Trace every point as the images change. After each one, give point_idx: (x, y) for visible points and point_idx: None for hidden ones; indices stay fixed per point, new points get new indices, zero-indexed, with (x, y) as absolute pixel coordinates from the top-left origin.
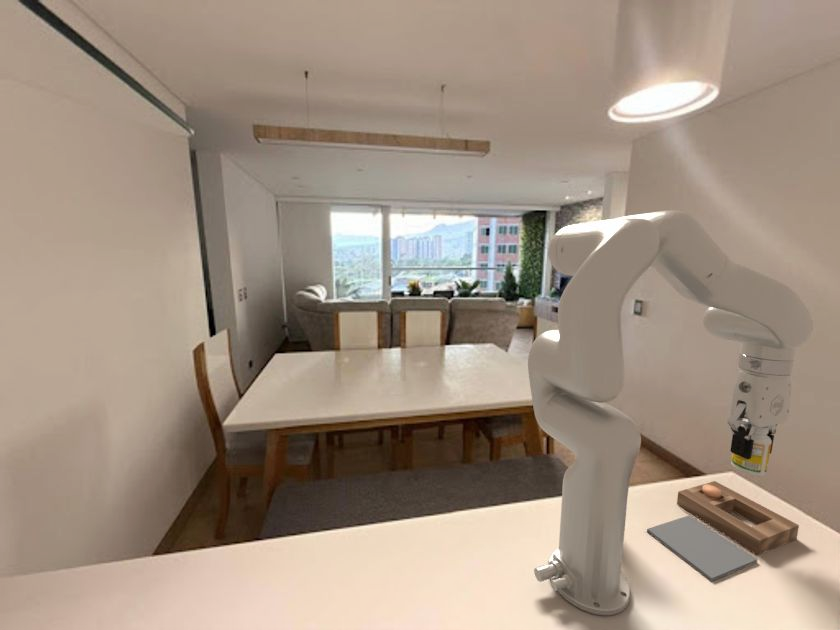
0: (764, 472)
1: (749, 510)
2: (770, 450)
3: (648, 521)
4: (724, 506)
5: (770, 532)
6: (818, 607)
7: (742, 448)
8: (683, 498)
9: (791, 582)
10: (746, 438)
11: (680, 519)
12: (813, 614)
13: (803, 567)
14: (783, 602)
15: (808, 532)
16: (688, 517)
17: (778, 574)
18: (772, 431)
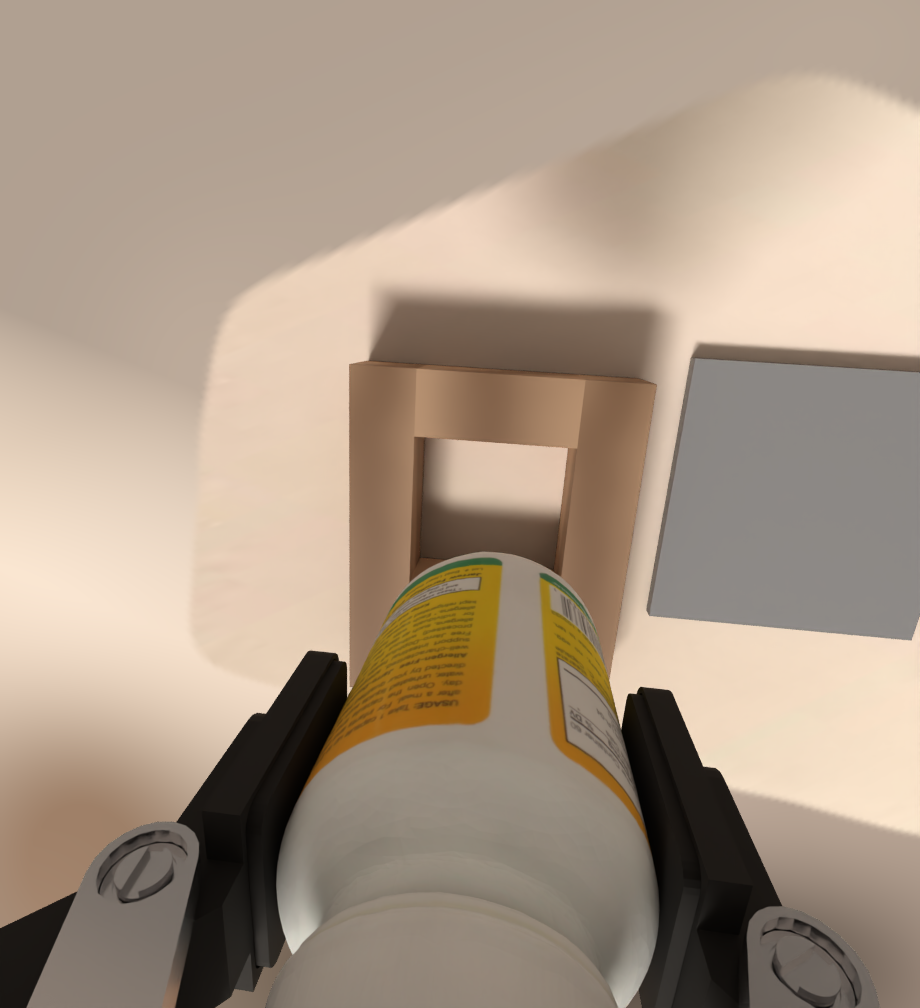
0: (500, 558)
1: (415, 518)
2: (315, 672)
3: (826, 663)
4: None
5: (541, 392)
6: (760, 124)
7: (738, 816)
8: None
9: (694, 240)
10: (850, 959)
11: (715, 616)
12: (825, 114)
13: (543, 263)
14: (857, 197)
15: (270, 360)
16: (668, 609)
17: (689, 285)
18: (184, 884)
